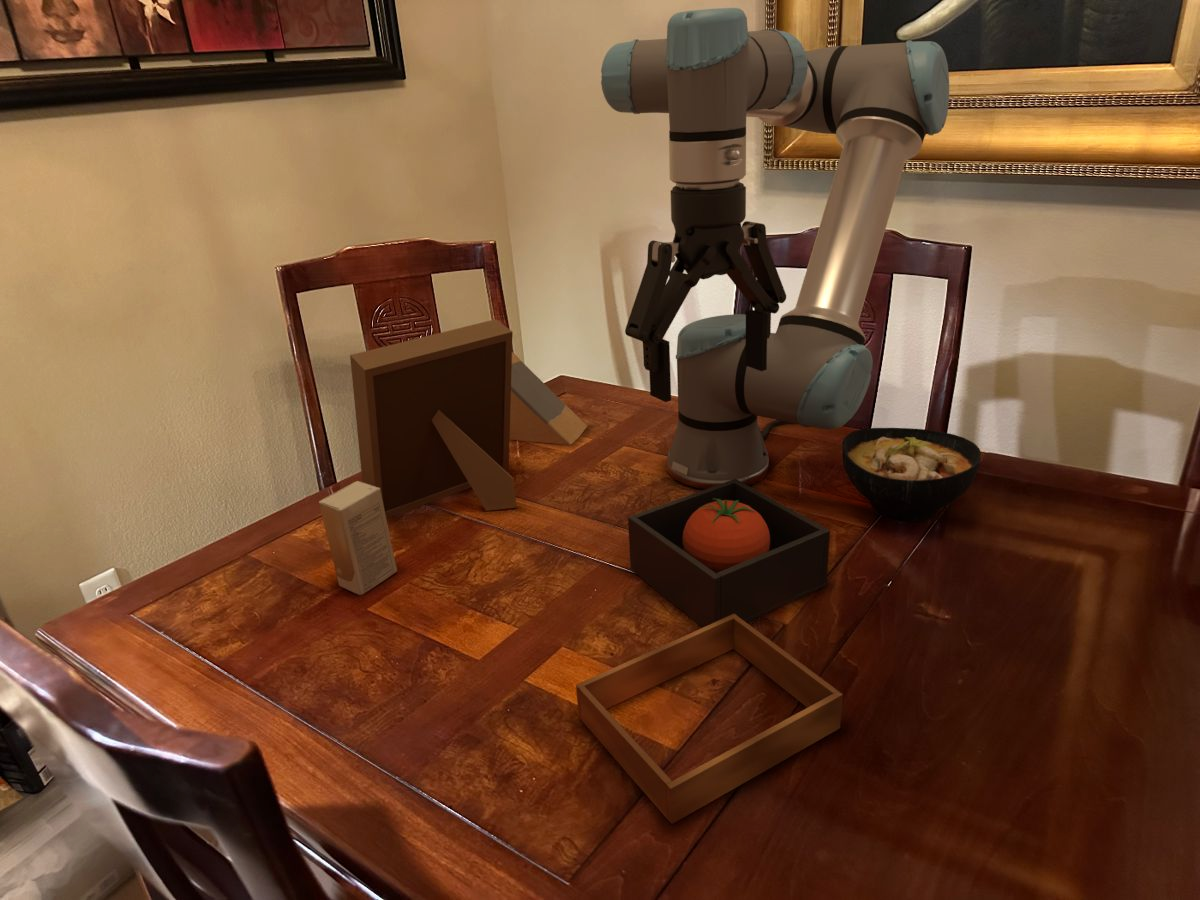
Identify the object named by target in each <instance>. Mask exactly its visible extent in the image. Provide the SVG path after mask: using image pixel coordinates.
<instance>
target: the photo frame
mask: <svg viewBox="0 0 1200 900" xmlns="http://www.w3.org/2000/svg"><path fill="white" fill-rule="evenodd" d="M513 333H514V332H513V331H512V329H509V328H508V327H507V326H506V325H504V323H502V322H500V320H498V319H496V318H494V319H491V320H487V321H483V322H478V323H474V324H470V325H466V326H462V327H459V328H458V327H457V328H454V329H451V330H447V331H442V332H438V333H434V334H430V335H425V336H422V337H418V338H414V339H410V340H406V341H402V342H397V343H393V344H389V345H385V346H382V347H381V346H380V347H377V348H373V349H369V350H365V351H362V352H357V353H352V354H350V355H349V359H350V368H351V369H350V370H351V381H352V388H353V389H352V390H353V398H354V400H353V401H354V410H355V419H356V430H357V431H356V432H357V442H358V450H359V460H360V462H359V463H360V470H361V471H360V472H361V482H363V483H366V484H369V485H372V486H375V487H378V488H380V491H381V495H382V500H383V505H384V510H385V515H386V519H389V518H391V517H392V518H393V517H395V516H397V515H400V514H402V513H405V512H408V511H412V510H414V509H416V508H417V509H418V508H420V507H422V506H424V505H427V504H431V503H432V502H433V503H434V502H436V501H438V500H442V499H443V498H444V499H445V498H446V497H449V496H452V495H455V494H457V493H460V492H464V491H465V490H469V489H472V490H473V492H474V493H475V495H476V497H477V499H478V500H479V502H480V504H481V505H482V507H483V509H484V510H485V511H486V512H490V511H498V510H505V509H506V510H507V509H515V508H517V500H516V491H515V484H514V477H513V476H512V475H511V474H510V442H511V440H510V406H511V370H512V352H513Z"/></svg>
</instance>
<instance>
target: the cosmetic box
mask: <svg viewBox="0 0 1200 900" xmlns="http://www.w3.org/2000/svg"><path fill="white" fill-rule="evenodd" d="M318 504H319V509H320V512H321V517H322V521H323V522H322V523H323V525H324V529H325V533H326V537H327V542H328V545H329V546H328V547H329V551H330V554H331V559H332V563H333V566H334V570H335V571H334V572H335V574H336V579H337V583H338V587H341V588H343V589H345V590H347V591H349V592H352V593H354V594H356V595H358V596H362V595H365V594H366V593H368V592H369V591H370V590H372V589H373V588H375V587H376V586H378V585H379V584H381V583H382V582H384V581H385V580H387V579H388V578H390V577H391V576H393V575H394V574H395V573H397V572H398V567H397V562H396V557H395V553H394V548H393V544H392V539H391V534H390V530H389V525H388V520H387V519H388V518H387V519H386V515H385V510H384V505H383V500H382V495H381V491H380V488H378V487H375V486H372V485H369V484H366V483H363V482H362V481H359V480H356V481H354V482H352V483H350V484H349V485H346V486H345V487H342V488H341V489H339V490H337V491H335V492H334V493H331V494H329V495H328V496H326V497H324V498H322V499H320V500H319V501H318Z"/></svg>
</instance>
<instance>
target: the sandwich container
mask: <svg viewBox="0 0 1200 900" xmlns="http://www.w3.org/2000/svg"><path fill="white" fill-rule="evenodd" d="M587 427H588V424H586V423H585V422H584V420H582V419H581V418H580V417H579V416H578V415H577V414H576V413H575V412H574V411H573V410H572V409H571V408H570V407H569V406H567V404H566V403H565V402H564V401H562V400H561V399H560V398H559V397H558V396H557V395H556V393H554V392H553V391H552V390H551V389H550V388H549V387H548V386H547V385H546V383H545V382H543V380H541V378H539V377H538V376H537V375H536V374H535V373H534V372H533V371H532V370H531V369H530V368H529V367H528V366H527V365H526V364H525V363H524V362H523V361H522V360H521V359H520V358H519V356H518V355H516V354H515V352H514V351H512V370H511V406H510V441H519V442H529V443H541V444H542V443H544V444H555V445H566V446H568V445H569V446H572V445H573V443H575V442H576V441H577V440H578V438H579V437H581V436H582V434H583V433H584V431H585V430H586V429H587Z"/></svg>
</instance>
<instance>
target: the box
mask: <svg viewBox="0 0 1200 900" xmlns="http://www.w3.org/2000/svg"><path fill="white" fill-rule="evenodd" d="M732 650H734V651H735V652H736V653H737V654H739V655H740V656H741V657H742V658H744V659H745V660H746V661H747V662H748V663H750V664H751V665H753V666H754V667H755V668H756V669H758V670H759V671H760V672H761V673H762V674H764V675H765V676H766V677H768V678H769V679H770V680H771V681H773V683H775V684H777V685H778V687H780V688H782V689H783V690H784V691H785V692H786V693H788V694H789V695H790V696H792V697H793V698H794V699H795V700H797V701H798V702H799V703H801V705H803V706H804V707H805V708H804V709H802V710H800V711H799V712H796V713H795V714H793V715H791V716H790V717H788V718H786V719H784V720H782V721H781V722H778V723H776V724H775V725H773V726H771V727H769V728H768V729H765V730H764V731H762V732H760V733H758V734H757V735H755V736H753V737H751V738H749V739H747V740H745V741H743V742H742V743H740V744H738V745H736V746H734V747H732V748H731V749H729V750H727V751H725V752H723V753H721V754H719V755H717V756H716V757H714V758H712V759H710V760H708V761H707V762H705V763H703V764H701V765H699V766H697V767H696V768H694V769H692V770H690V771H688V772H686V773H684V774H683V775H681V776H679V777H677V778H675V779H673V780H672V779H671V778H670V777H669V776H668V775H667V773H665V772H664V770H663V769H662V768H661V767H660V766H659V765H658V764H657V763H656V761H654V760H653V759H652V757H650V755H649V754H648V753H647V752H646V751H645V750H644V749H643V748H642V747H641V746H640V744H638V743H637V741H636V740H635V739H634V738H633V737H632V736H631V734H629V732H627V730H626V729H625V728H624V727H623V726H622V725H621V724H620V723H619V722H618V720H616V719H615V717H614V716H613V715H612V714H611V713H610V712H609V711H608V709H610V708H613V707H614V706H616V705H619V704H620V703H622V702H625V701H627V700H629V699H631V698H634V697H635V696H637V695H639V694H642V693H645V692H646V691H648V690H650V689H652V688H654V687H656V686H658V685H660V684H663V683H664V682H667V681H669V680H671V679H673V678H675V677H678V676H679V675H682V674H684V673H686V672H688V671H690V670H692V669H695V668H697V667H699V666H701V665H702V664H705V663H707V662H709V661H711V660H713V659H715V658H718V657H720V656H721V655H724V654H726V653H728V652H730V651H732ZM575 689H576V702H577V703H576V704H577V713H578V714H577V715H578V719H579V720H580V721H581V722H582V723H583V724H584V726H586V728H587V729H588V730H589V731H590V732H591V733H592V735H593V736H594V737H595V738H596V739H597V740H598V742H599V743H600V744H601V745H602V746H603V747H604V749H606V751H607V752H608V753H609V754H610V755H611V756H612V758H613V759H614V760H615V761H616V762H617V763H618V764H619V766H620V767H621V768H622V769H623V770H624V771H625V773H626V774H627V775H628V776H629V777H630V778H631V780H632V781H633V782H634V783H635V784H636V785H637V787H639V789H640V790H641V791H642V792H643V793H644V794H645V795H646V797H647V798H648V799H649V800H650V801H651V802H652V804H653V805H654V806H655V807H656V809H658V810H659V812H660V813H661V814H662V815H663V816H664V817H665V819H666V820H667V821H668V822H669V824H671V825H673V824H675V823H677V822H678V821H680V820H682V819H684V818H686V817H687V816H689V815H690V814H692V813H695V812H696V811H697V810H699V809H702V808H703V807H705V806H707V805H708V804H710V803H712V802H714V801H715V800H717V799H719V798H721V797H722V796H724V795H725V794H728V793H729V792H731V791H733V790H735V789H736V788H738V787H740V786H741V785H743V784H745V783H747V782H749V781H750V780H752V779H754V778H756V777H757V776H759V775H761V774H762V773H764V772H766V771H768V770H770V769H771V768H773V767H775V766H777V765H779V764H780V763H782V762H784V761H785V760H787V759H789V758H790V757H792V756H794V755H796V754H797V753H799V752H801V751H803V750H804V749H806V748H808V747H809V746H811V745H814V744H815V743H817V742H818V741H820V740H822V739H824V738H825V737H828V736H829V735H831V734H832V733H834V732H837V731H838V730H840V729H841V723H842V709H843V697H844V696H843V695H844V694H843V693H842V692H840V691H839V690H837V689H836V687H834V686H832V685H831V684H830V683H828V682H827V681H825V679H823V678H822V677H820V676H819V675H818V674H817V673H815V672H814V671H812V670H811V669H810V668H808V667H807V666H805V665H804V664H803V663H802V662H800V661H799V660H798V659H796V658H795V657H793V655H791V654H789V653H788V652H787V651H785V650H784V649H782V648H781V647H780V646H778V645H777V644H776V643H775V642H773V641H772V640H771V639H769V638H768V637H766V636H765V635H764V634H762V633H761V632H760V631H758V630H757V629H756V628H754V627H753V626H751V624H749V623H748V622H747V623H746V622H745V621H743V620H742V619H741V618H739V617H738V616H737V615H735V614H732V615H730V616H728V617H726V618H723V619H721V620H719V621H717V622H714V623H712V624H710V625H708V626H706V627H700V628H699V629H697V630H695V631H693V632H690V633H688V634H685V635H683V636H682V637H679V638H677V639H675V640H673V641H670V642H668V643H666V644H663V645H661V646H659V647H657V648H654V649H652V650H650V651H647V652H646V653H644V654H641V655H639V656H637V657H634V658H632V659H629V660H628V661H626V662H624V663H622V664H619V665H617V666H614V667H612V668H610V669H608V670H606V671H604V672H601V673H599V674H597V675H595V676H592V677H590V678H588V679H585V680H583V681H581V682H579V683H576V685H575Z"/></svg>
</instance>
